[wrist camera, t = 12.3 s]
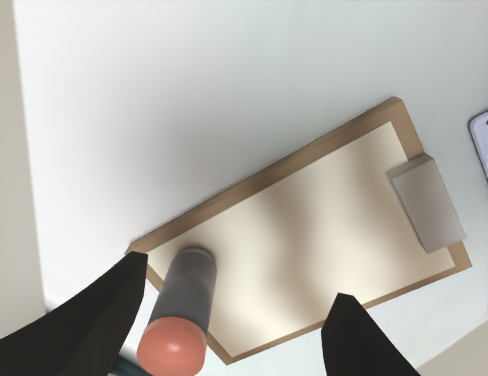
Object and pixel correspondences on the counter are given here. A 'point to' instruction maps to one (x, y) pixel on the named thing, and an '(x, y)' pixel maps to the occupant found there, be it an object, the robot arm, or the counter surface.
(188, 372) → the marker
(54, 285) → the counter surface
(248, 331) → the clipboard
